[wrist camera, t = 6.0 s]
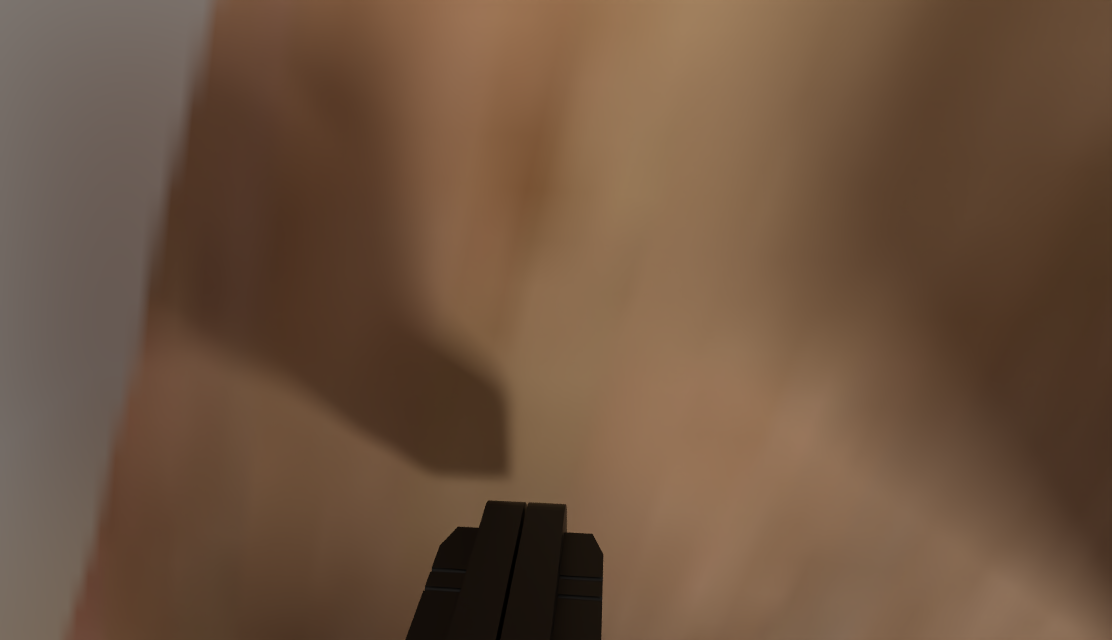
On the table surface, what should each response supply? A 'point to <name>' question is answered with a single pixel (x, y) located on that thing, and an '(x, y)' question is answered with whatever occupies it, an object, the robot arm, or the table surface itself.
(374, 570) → the table surface
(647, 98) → the table surface
